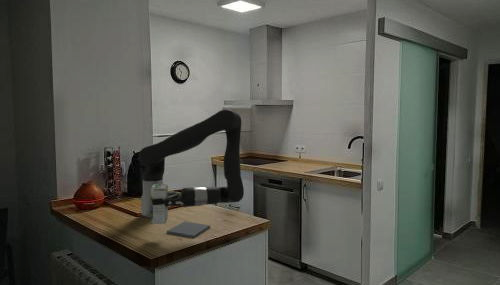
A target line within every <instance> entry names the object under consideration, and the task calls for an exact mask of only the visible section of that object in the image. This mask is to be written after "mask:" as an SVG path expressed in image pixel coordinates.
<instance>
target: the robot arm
mask: <svg viewBox="0 0 500 285" xmlns="http://www.w3.org/2000/svg"><path fill="white" fill-rule="evenodd" d="M222 131H225V136H226V145H225V146H226V147H225V151H224V155H223V173H224V175H223V176H224V179H225V180H226V184H227V186H219V187H218V186H205V187H204V186H195V187H183V188H182V189H181V192H177V191H178V190H171V191H169V190H168V197H167V198H163V200H162V198H161V199H153V200H152V205H162V204H163V205H165V206H168V207H178V206H179V207H180V206H182V207H184V208H188V207H190V208H191V207H199V206H205V205H215V204H226V203H238V202H241V201H242V200H243V198H244V194H245V190H244V189H245V188H244V184H243V180H242V176H241V175H242V173H241V159H240V158H241V156H240V152H241V149H240V145H241V132H242V118H241V116H240V114H239V113H237V112H236V111H234V110H232V109H229V108H224V109H221V110H219V111H217V112H215V113H214V114H212V115H210V116H209V117H208V118H206V119H204V120H201V121H200V122H198V123H195V124H193V125H191V126H188V127H186V128H184V129H182V130H180V131H178V132H176V133H174V134H173V135H170V136H168V137H166V138H165V139H164V140H161V141H160V142H158V143H154V144H151V145H149V146H145V147H143V148H141V149H140V151H139V153H138V155H137V158H138V162H139V163H140V164H141V165H143V166H145V167H146V170H145V171H144V172H143V174H142V195H141V197H140V198H141V200H140V201H141V216H143V217H146V218H151V187H152V186H153V185H154V184H164V174H165V167H166V166H165V164H166V162H165V160H166V158H167V157H170V156H173V155H177V154H181V153H183V152H186V151H189V150H192V149H194V148H195V147H196V148H197V147H198V146H199V145H201V144H202V143H203V142H204V141H206V139H207V138H208V137H209V136H212V135H215V134H217V133H219V132H222Z"/></svg>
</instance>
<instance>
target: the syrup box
mask: <svg viewBox="0 0 500 285" xmlns="http://www.w3.org/2000/svg"><path fill="white" fill-rule="evenodd" d="M168 187H169V184H165V183H163V184H154V185H153V186H152V187H151V217H150V225H162V224H164V225H165V224H167V221H168V218H169V217H168V216H169V215H168V214H169V213H168V212H169V210H168V209H169V208H168V207H169V206H165V205H163V204H162V205H152V200H153V199H161V198H162V200H163V198H167V197H168V191H169V189H168Z"/></svg>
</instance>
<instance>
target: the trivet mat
mask: <svg viewBox="0 0 500 285" xmlns="http://www.w3.org/2000/svg"><path fill="white" fill-rule="evenodd" d="M210 228H211V225H209V224H205V223H203V224H202V223H197V222H190V221H182V222H180V223H179V224H177V225H174V226H173V227H171V228H169V229H168V230H166V234H170V235H175V236H180V237H186V238H191V237H192V238H191V239H195V238H196V237H198V236H199V235H201V234H203V233H204V232H206V231H207V230H209V229H210ZM202 232H203V233H202Z"/></svg>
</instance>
